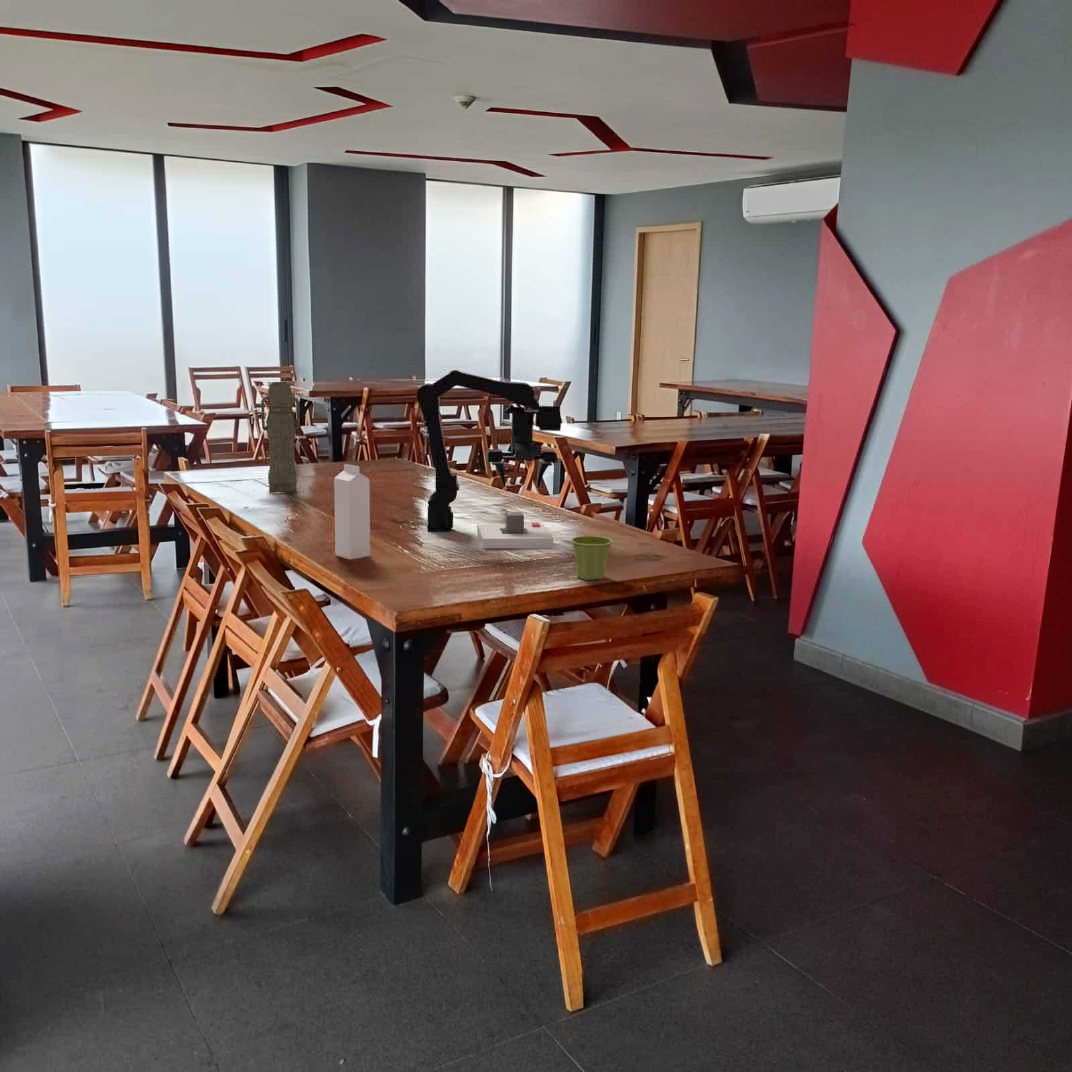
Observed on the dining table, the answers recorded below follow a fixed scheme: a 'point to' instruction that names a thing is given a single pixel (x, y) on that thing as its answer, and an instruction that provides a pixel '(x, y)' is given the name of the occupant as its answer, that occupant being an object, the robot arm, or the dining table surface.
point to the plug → (514, 523)
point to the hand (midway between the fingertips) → (520, 487)
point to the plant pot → (591, 556)
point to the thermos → (281, 436)
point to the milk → (352, 513)
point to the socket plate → (514, 536)
